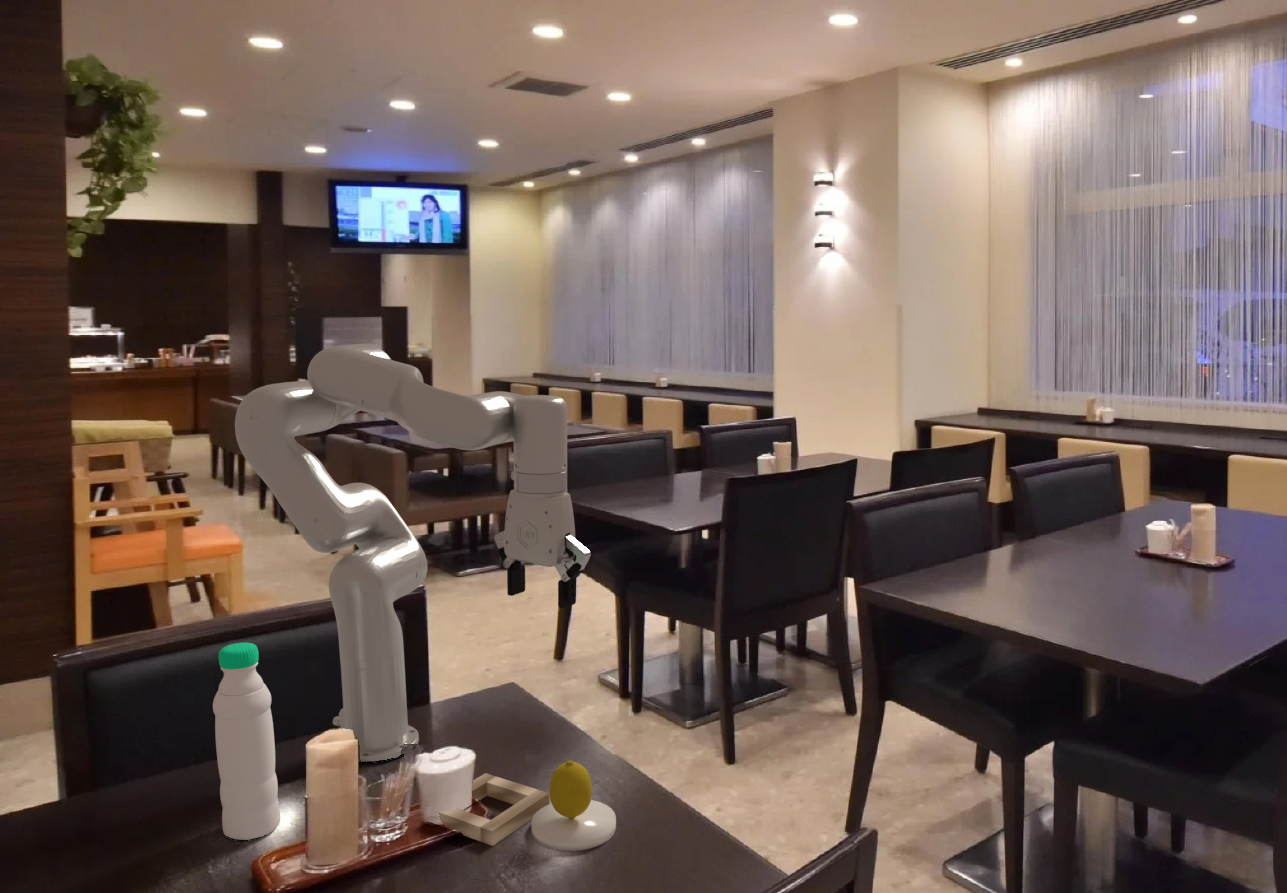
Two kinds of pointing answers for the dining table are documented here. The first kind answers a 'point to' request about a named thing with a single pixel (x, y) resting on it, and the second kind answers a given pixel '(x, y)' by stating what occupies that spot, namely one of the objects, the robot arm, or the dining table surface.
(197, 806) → the dining table surface
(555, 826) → the saucer
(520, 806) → the frame
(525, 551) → the robot arm
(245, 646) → the water bottle
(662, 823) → the dining table surface
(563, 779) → the lemon
